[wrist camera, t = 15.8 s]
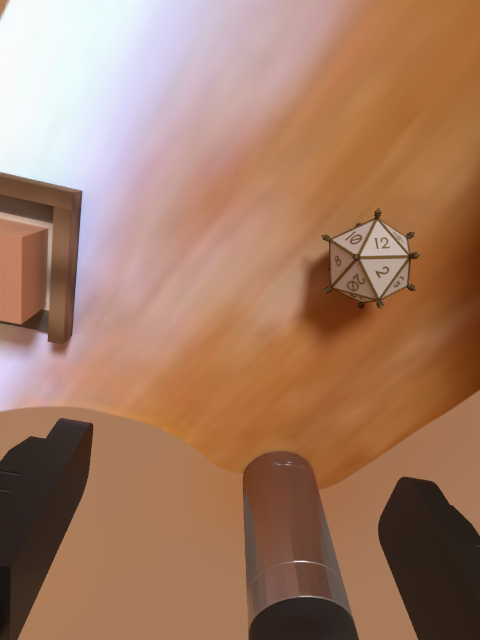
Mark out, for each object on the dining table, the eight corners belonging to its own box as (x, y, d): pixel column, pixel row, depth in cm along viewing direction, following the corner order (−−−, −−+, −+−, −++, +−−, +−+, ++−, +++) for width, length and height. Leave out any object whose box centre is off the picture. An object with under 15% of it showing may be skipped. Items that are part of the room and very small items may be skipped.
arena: (71, 334, 41) (62, 344, 39) (-6, 319, 40) (-20, 328, 38) (82, 190, 35) (72, 192, 33) (-8, 170, 35) (-24, 170, 32)
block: (48, 228, 36) (21, 237, 31) (46, 305, 39) (21, 324, 34) (-1, 217, 36) (-36, 225, 31) (0, 297, 39) (-31, 314, 34)
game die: (351, 262, 42) (369, 342, 37) (294, 232, 38) (307, 318, 33) (425, 212, 36) (459, 299, 31) (367, 169, 32) (397, 263, 27)
